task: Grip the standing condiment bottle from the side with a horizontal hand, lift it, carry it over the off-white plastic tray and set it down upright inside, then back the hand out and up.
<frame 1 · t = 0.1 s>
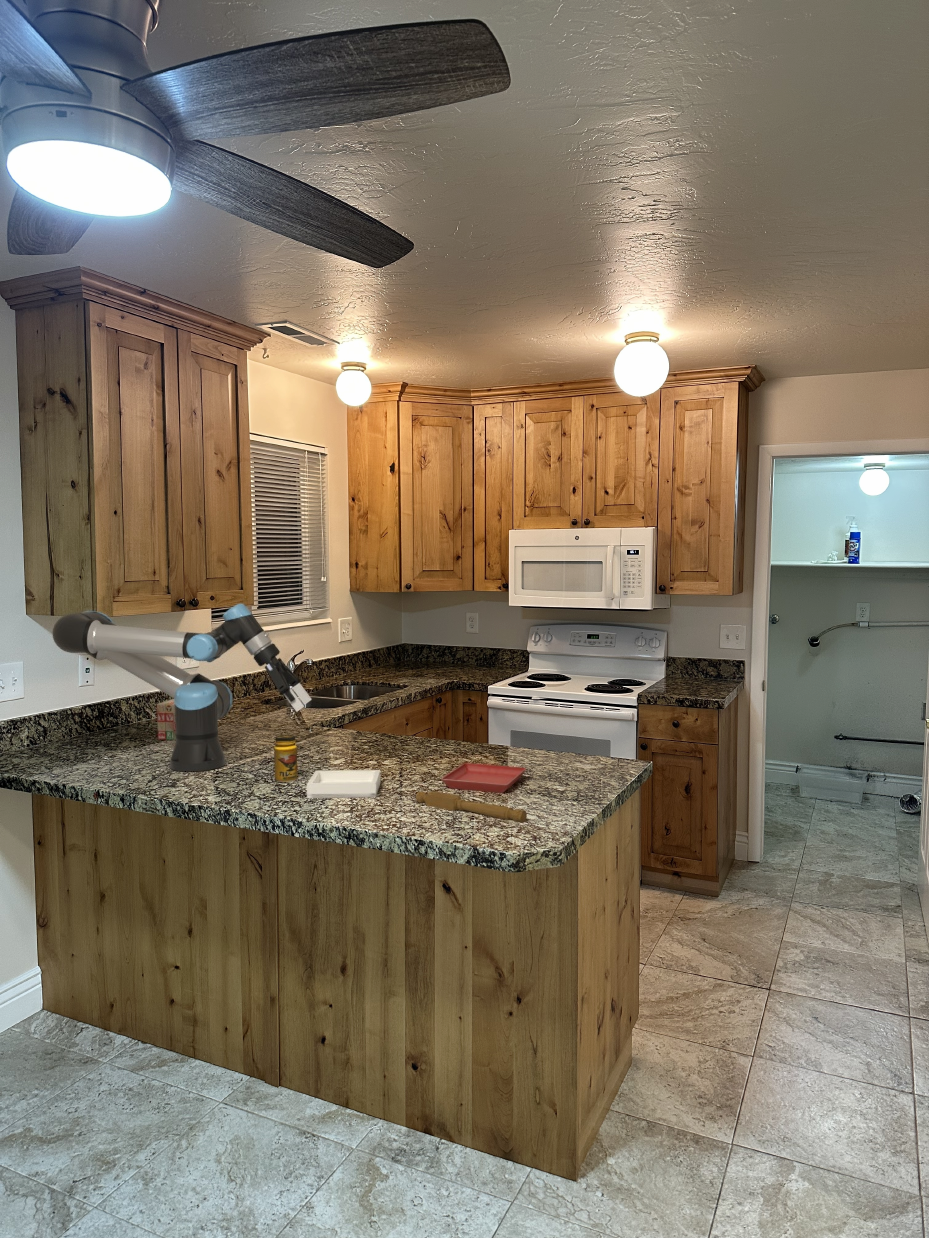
hand: (304, 705, 254), 15 cm above the countertop, tool tilted 35°, fingers open, 13 cm apart
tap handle: (468, 813, 193), on the countertop
plant saucer: (484, 785, 218), on the countertop
condiment: (283, 780, 224), on the countertop
tray: (345, 790, 213), on the countertop
stack of blocks: (182, 734, 290), on the countertop
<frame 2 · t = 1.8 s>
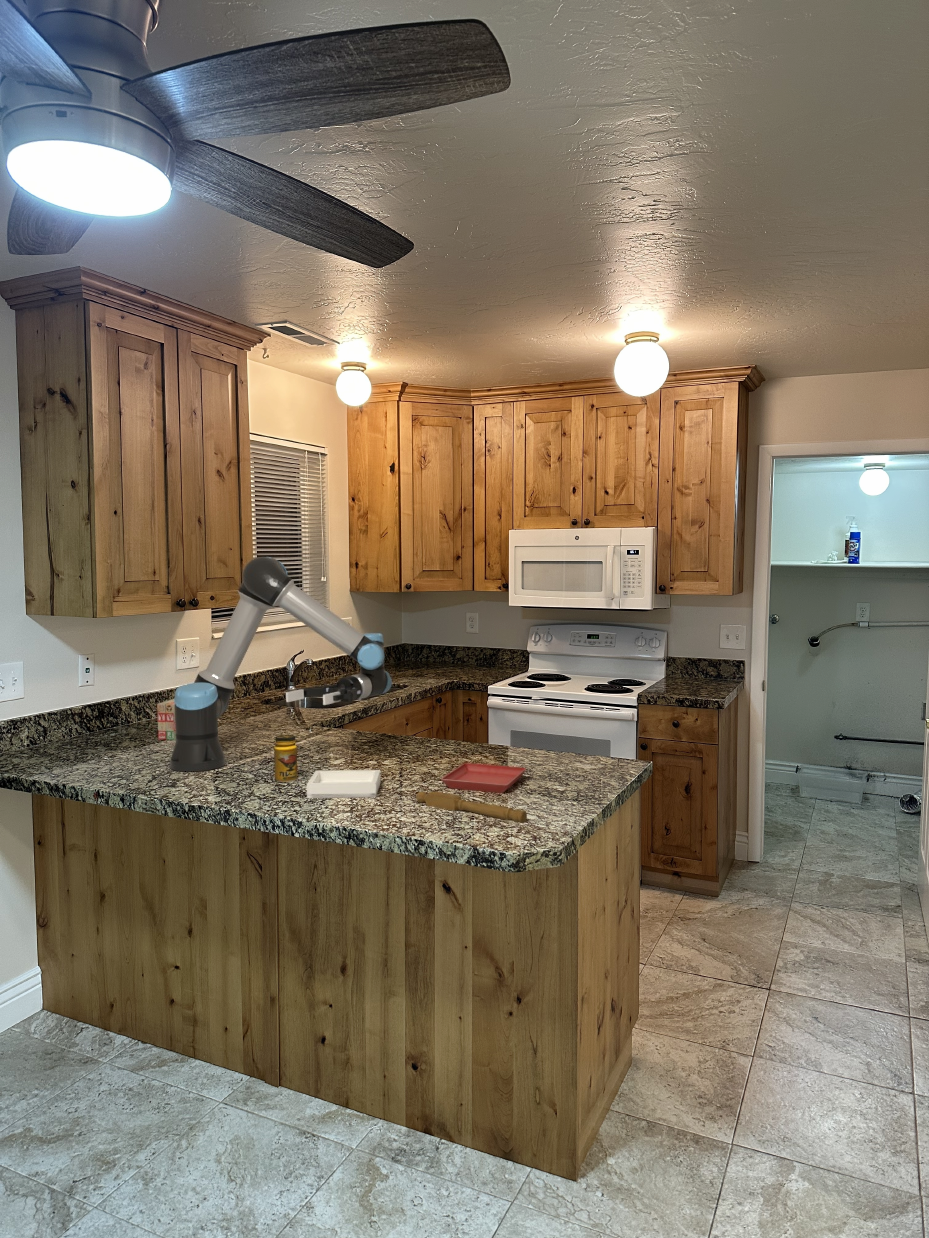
hand: (305, 698, 231), 21 cm above the countertop, tool horizontal, fingers open, 13 cm apart
nothing on the countertop moved.
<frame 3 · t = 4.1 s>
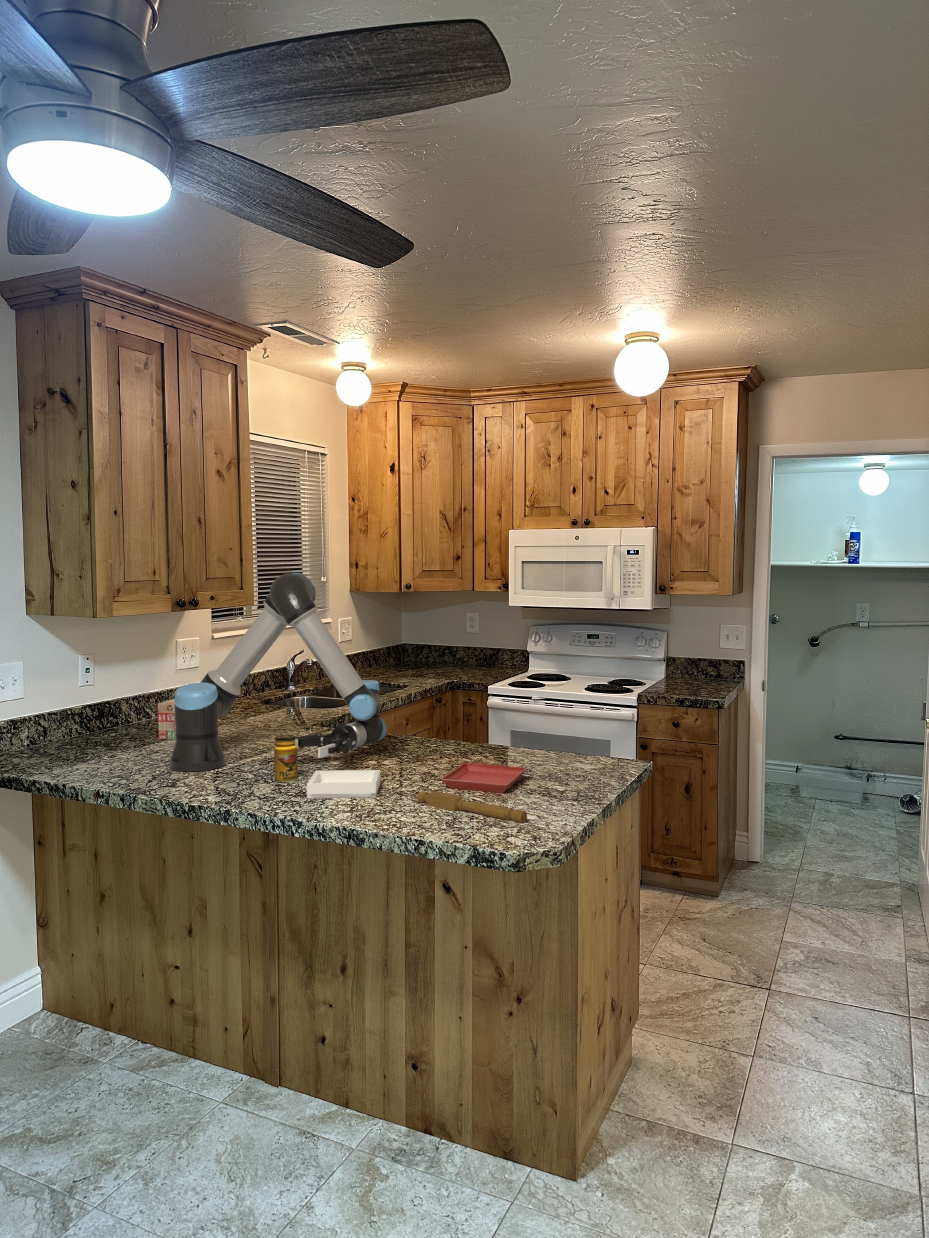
hand: (299, 750, 229), 7 cm above the countertop, tool horizontal, fingers open, 13 cm apart
nothing on the countertop moved.
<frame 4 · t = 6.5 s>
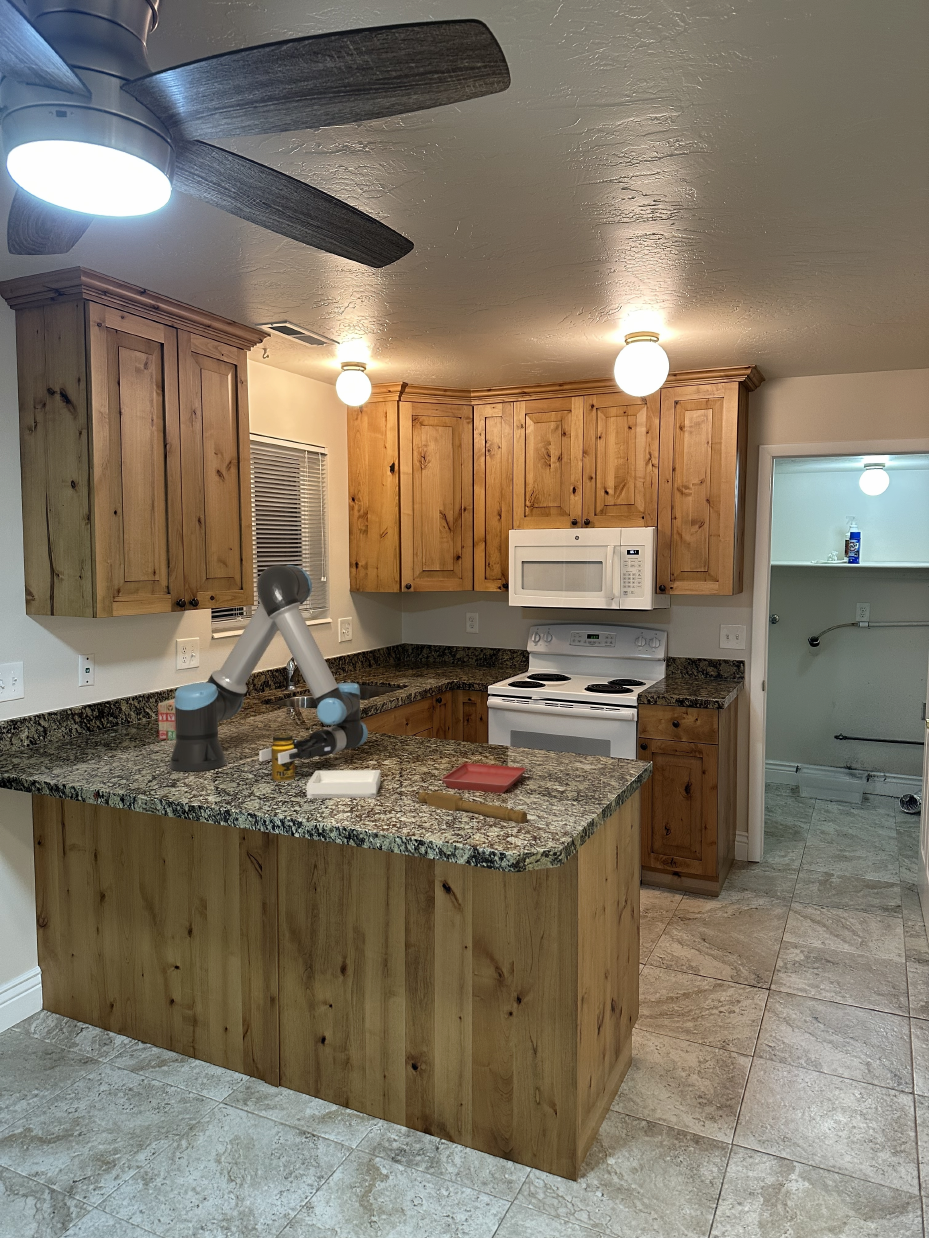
hand: (269, 757, 219), 7 cm above the countertop, tool horizontal, fingers closed on condiment, 6 cm apart
condiment: (281, 779, 225), on the countertop, touching gripper
everything else where it was.
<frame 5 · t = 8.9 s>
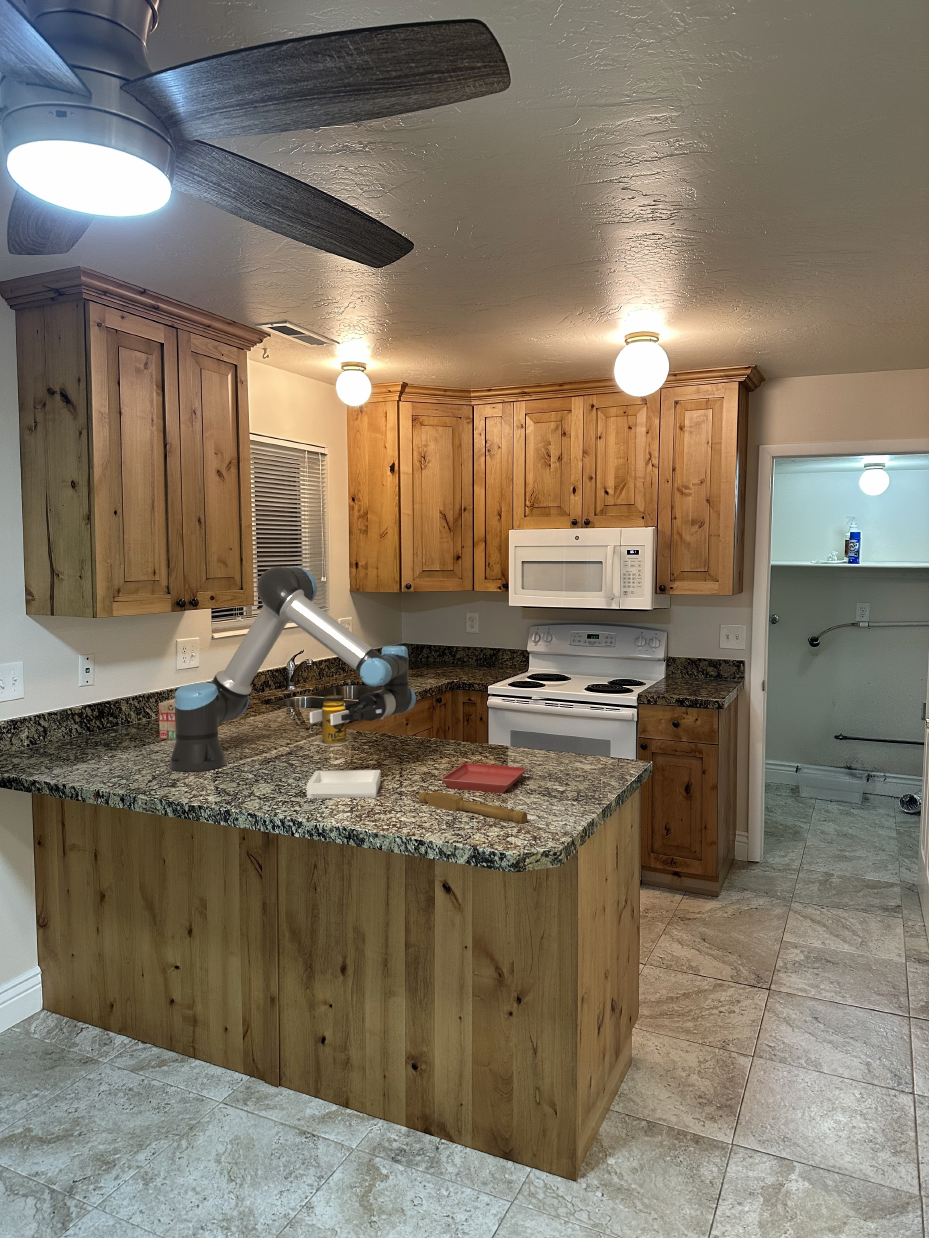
hand: (321, 718, 210), 19 cm above the countertop, tool horizontal, fingers closed on condiment, 6 cm apart
condiment: (331, 743, 215), point 12 cm above the countertop, touching gripper
when the fingers open (9 cm above the countertop, at t = 11.6 s): condiment drops 1 cm, resting on tray.
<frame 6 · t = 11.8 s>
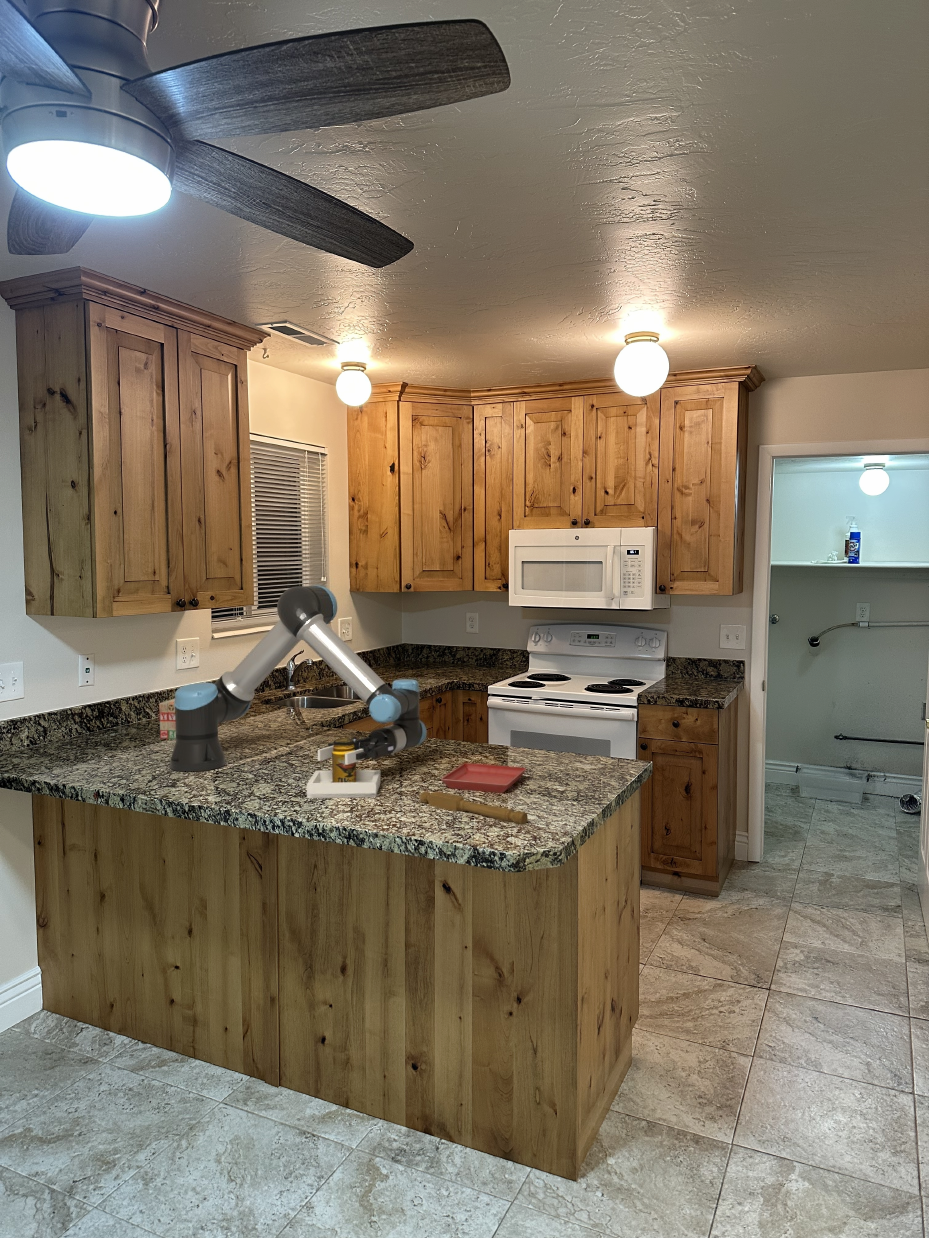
hand: (332, 757, 208), 9 cm above the countertop, tool horizontal, fingers open, 8 cm apart
condiment: (341, 786, 213), point 1 cm above the countertop, touching tray
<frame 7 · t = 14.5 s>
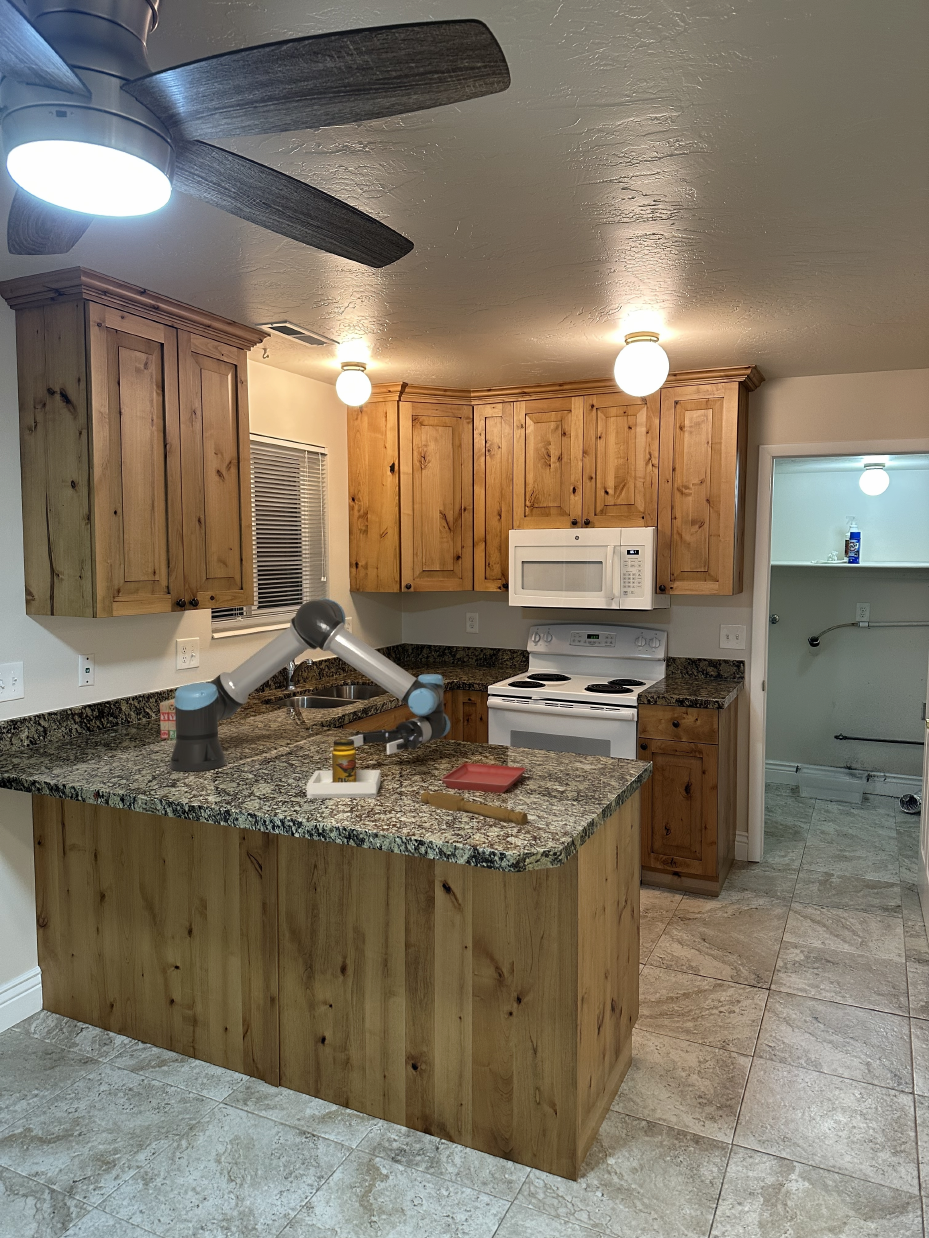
hand: (366, 746, 220), 10 cm above the countertop, tool horizontal, fingers open, 13 cm apart
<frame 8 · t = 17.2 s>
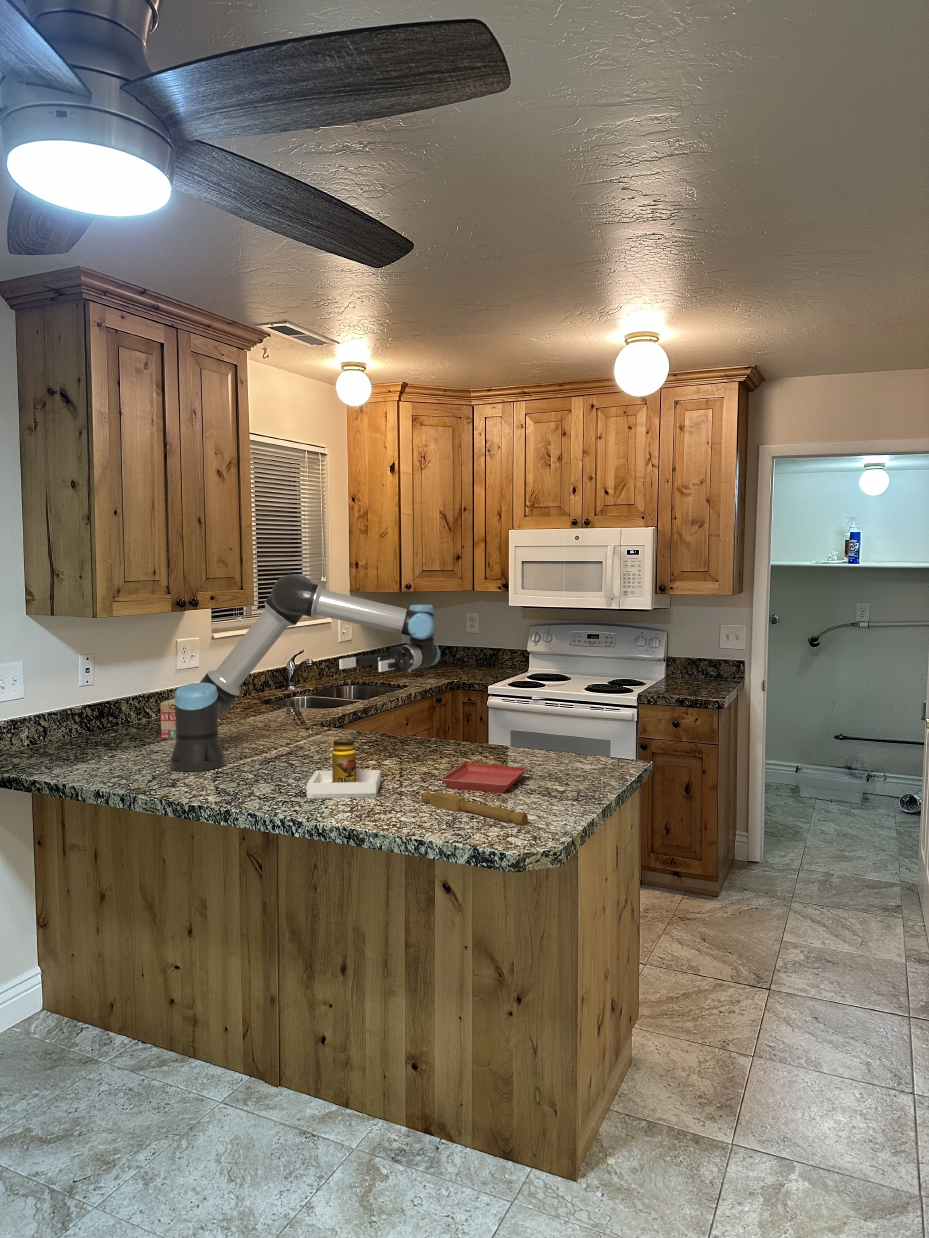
hand: (359, 665, 229), 30 cm above the countertop, tool horizontal, fingers open, 13 cm apart
at the end: condiment inside the target area on the tray (1.0 cm from its centre), point 0.8 cm above the tray's base; condiment tilted 0°; the gripper is holding nothing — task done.
